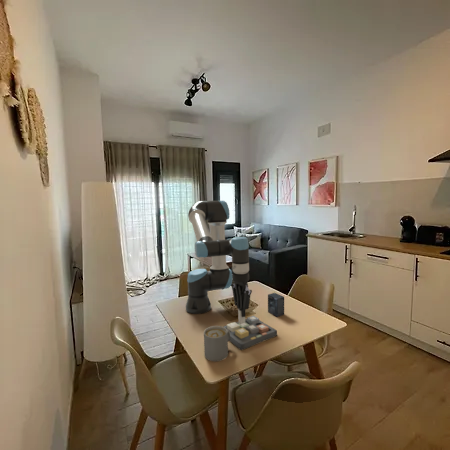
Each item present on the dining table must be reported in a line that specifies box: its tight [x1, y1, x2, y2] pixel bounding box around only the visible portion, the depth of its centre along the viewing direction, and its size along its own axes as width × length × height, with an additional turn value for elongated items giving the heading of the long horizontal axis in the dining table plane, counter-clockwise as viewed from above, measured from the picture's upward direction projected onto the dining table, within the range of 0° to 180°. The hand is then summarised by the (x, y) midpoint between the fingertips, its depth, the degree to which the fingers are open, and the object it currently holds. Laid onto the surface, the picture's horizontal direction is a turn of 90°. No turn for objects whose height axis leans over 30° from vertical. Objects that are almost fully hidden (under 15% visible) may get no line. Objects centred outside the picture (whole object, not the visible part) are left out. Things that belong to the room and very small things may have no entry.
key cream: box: [226, 321, 240, 332], centre depth 124 cm, size 4×4×2 cm
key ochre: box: [235, 328, 249, 339], centre depth 118 cm, size 4×4×2 cm
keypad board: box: [223, 318, 278, 351], centre depth 125 cm, size 18×21×3 cm
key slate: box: [246, 315, 260, 325], centre depth 131 cm, size 4×4×2 cm
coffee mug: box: [203, 325, 230, 362], centre depth 110 cm, size 13×10×10 cm
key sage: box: [238, 322, 249, 329], centre depth 128 cm, size 4×4×2 cm
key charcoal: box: [246, 324, 259, 335], centre depth 122 cm, size 4×4×2 cm
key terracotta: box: [257, 324, 269, 334], centre depth 125 cm, size 4×4×2 cm
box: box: [267, 292, 285, 318], centre depth 146 cm, size 8×6×11 cm
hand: (241, 322), depth 118 cm, fingers closed
